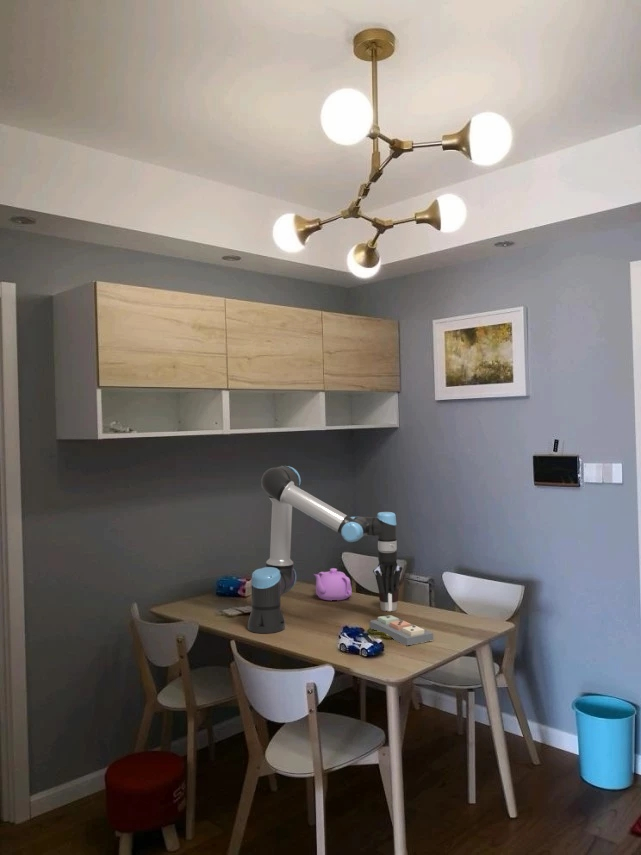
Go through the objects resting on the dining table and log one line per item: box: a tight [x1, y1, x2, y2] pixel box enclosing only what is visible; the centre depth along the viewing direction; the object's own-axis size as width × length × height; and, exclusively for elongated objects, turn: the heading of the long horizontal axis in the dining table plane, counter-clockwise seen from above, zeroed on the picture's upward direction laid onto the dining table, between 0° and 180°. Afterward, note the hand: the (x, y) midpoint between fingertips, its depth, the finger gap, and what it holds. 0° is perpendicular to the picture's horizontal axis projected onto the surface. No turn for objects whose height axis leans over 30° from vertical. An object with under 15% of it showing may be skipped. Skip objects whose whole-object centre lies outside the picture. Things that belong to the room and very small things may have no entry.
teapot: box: [313, 567, 353, 601], centre depth 322 cm, size 22×22×14 cm
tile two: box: [402, 625, 425, 636], centre depth 259 cm, size 6×6×3 cm
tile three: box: [390, 619, 412, 630], centre depth 266 cm, size 6×6×3 cm
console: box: [368, 618, 434, 646], centre depth 266 cm, size 12×26×3 cm, turn 28°
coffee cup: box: [378, 575, 401, 613], centre depth 302 cm, size 10×10×15 cm
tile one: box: [377, 614, 400, 625], centre depth 274 cm, size 6×6×3 cm
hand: (388, 609), depth 274 cm, fingers closed
